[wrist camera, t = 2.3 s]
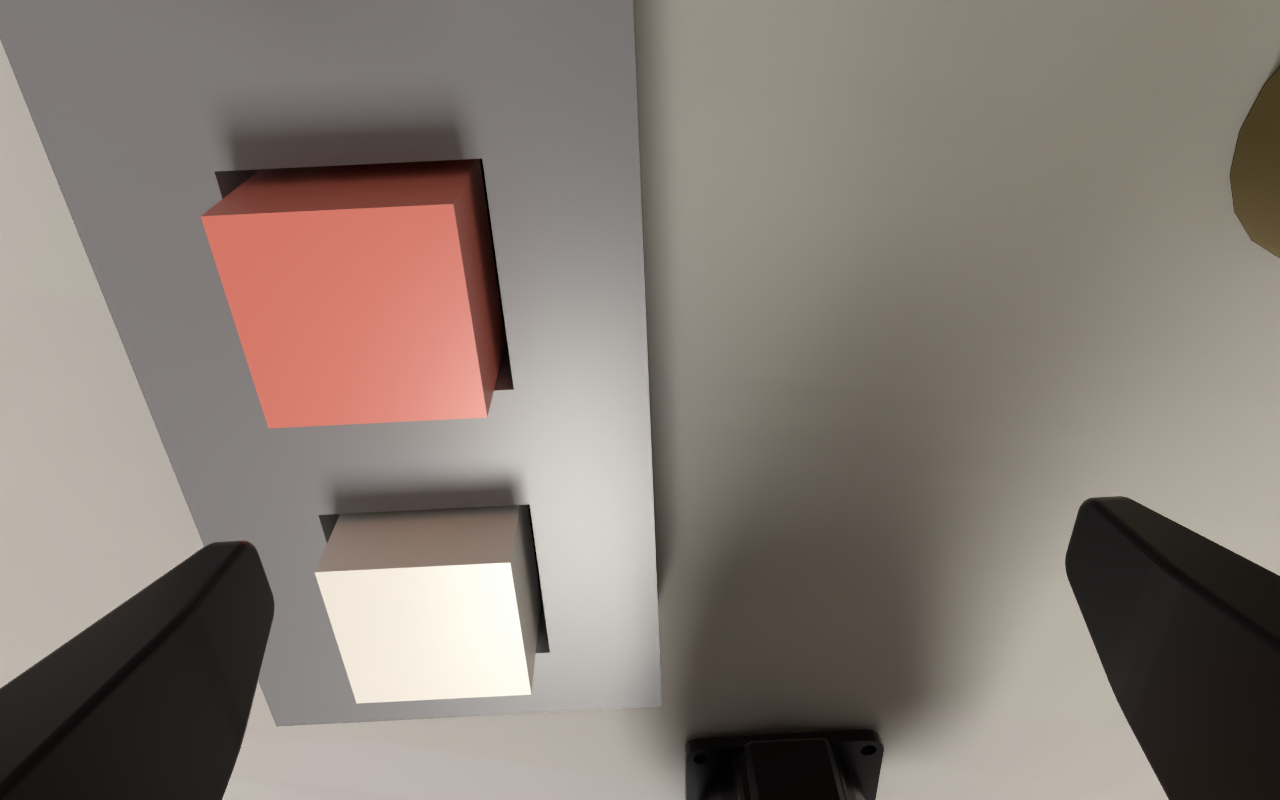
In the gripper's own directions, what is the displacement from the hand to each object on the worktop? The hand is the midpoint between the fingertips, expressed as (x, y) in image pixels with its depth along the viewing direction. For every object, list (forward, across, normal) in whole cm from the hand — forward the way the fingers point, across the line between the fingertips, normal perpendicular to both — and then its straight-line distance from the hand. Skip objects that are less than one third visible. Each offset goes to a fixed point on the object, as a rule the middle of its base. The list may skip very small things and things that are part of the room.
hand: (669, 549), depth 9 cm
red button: (+9, +5, 0) cm, 10 cm away
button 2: (+9, +5, +7) cm, 13 cm away
